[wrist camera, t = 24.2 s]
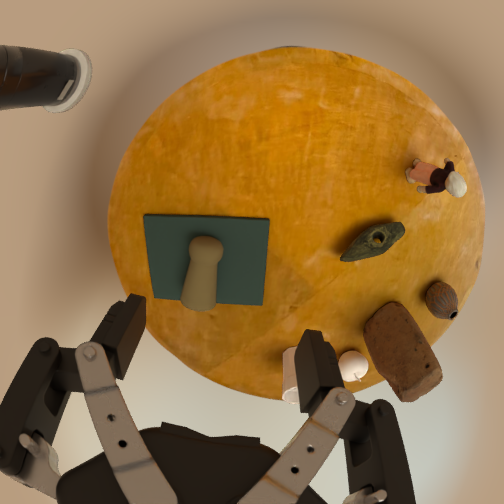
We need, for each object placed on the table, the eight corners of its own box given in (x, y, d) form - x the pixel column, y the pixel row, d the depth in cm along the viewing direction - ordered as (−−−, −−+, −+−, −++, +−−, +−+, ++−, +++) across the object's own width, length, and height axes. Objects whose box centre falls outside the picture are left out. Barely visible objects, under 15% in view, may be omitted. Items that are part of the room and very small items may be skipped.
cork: (215, 292, 48) (226, 234, 43) (217, 313, 42) (229, 250, 38) (181, 287, 46) (188, 229, 42) (179, 309, 41) (186, 245, 37)
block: (398, 293, 48) (443, 366, 31) (409, 313, 51) (449, 381, 33) (355, 323, 52) (385, 403, 34) (369, 341, 54) (398, 414, 36)
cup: (314, 355, 56) (322, 395, 46) (289, 367, 58) (293, 407, 48) (300, 339, 54) (307, 381, 44) (273, 352, 55) (275, 394, 46)
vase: (421, 308, 50) (439, 334, 43) (420, 285, 48) (440, 311, 40) (445, 295, 49) (465, 319, 41) (445, 272, 46) (467, 295, 38)
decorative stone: (370, 198, 40) (383, 208, 36) (400, 222, 42) (414, 233, 37) (332, 252, 45) (340, 267, 40) (364, 271, 46) (373, 286, 42)
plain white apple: (365, 357, 57) (375, 383, 50) (338, 369, 58) (345, 395, 51) (360, 340, 54) (370, 367, 47) (330, 353, 56) (337, 380, 48)
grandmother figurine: (411, 193, 39) (455, 219, 28) (397, 179, 39) (441, 203, 27) (433, 158, 36) (482, 175, 25) (420, 144, 36) (469, 157, 24)
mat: (155, 295, 49) (154, 298, 48) (145, 213, 42) (143, 216, 41) (262, 302, 49) (262, 305, 48) (269, 218, 42) (269, 220, 41)
